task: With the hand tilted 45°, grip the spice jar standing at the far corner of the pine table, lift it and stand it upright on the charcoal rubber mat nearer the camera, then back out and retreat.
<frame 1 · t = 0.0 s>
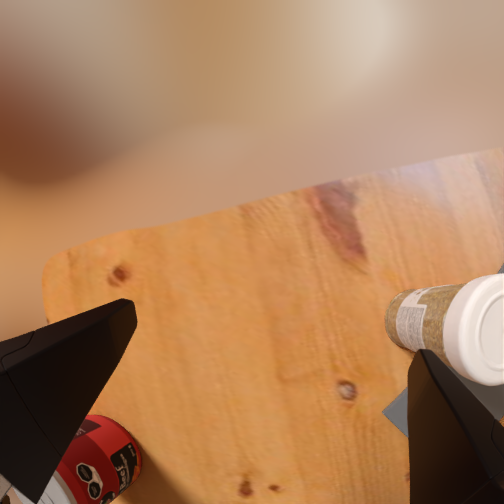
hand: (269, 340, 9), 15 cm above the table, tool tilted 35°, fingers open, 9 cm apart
canned food: (110, 448, 25), on the table
charcoal mat: (489, 365, 20), on the table
spice jar: (409, 318, 22), on the table
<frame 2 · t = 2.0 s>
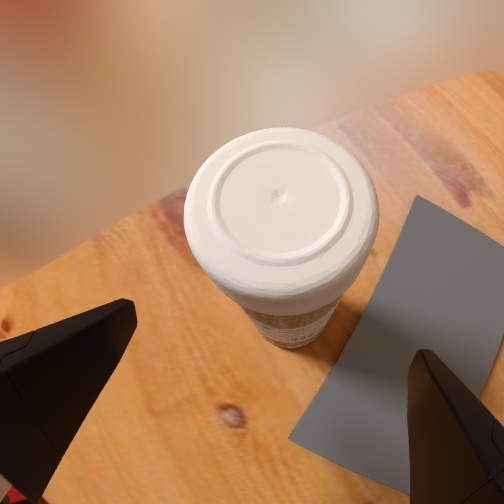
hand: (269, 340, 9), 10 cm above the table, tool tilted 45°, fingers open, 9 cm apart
charcoal mat: (430, 344, 17), on the table
spice jar: (290, 313, 19), on the table
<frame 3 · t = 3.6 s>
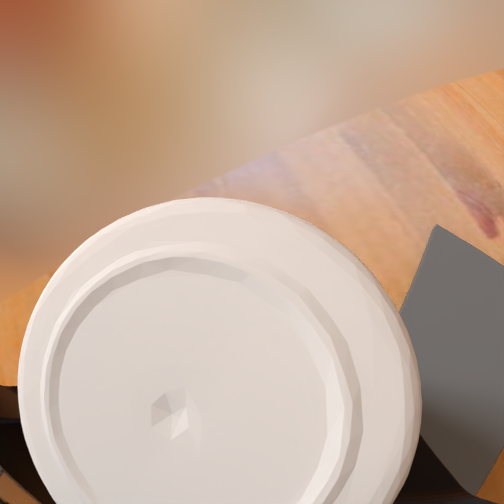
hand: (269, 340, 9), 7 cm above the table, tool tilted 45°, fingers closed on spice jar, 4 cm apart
charcoal mat: (442, 413, 13), on the table
spice jar: (274, 380, 15), on the table, touching gripper
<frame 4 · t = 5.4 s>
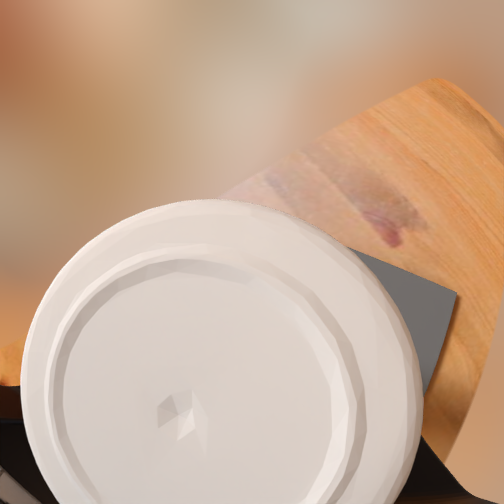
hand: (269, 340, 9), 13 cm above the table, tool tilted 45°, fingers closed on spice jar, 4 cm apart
charcoal mat: (356, 386, 20), on the table
spice jar: (271, 378, 15), point 6 cm above the table, touching gripper
when the fingers open (8 cm above the table, at t = 7.3 s): spice jar drops 1 cm, resting on charcoal mat.
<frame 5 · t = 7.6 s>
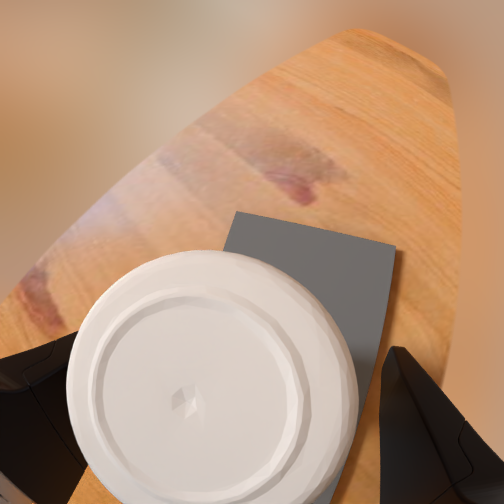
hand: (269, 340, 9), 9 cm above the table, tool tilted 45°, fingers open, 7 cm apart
charcoal mat: (276, 379, 17), on the table
spice jar: (272, 381, 16), resting on charcoal mat
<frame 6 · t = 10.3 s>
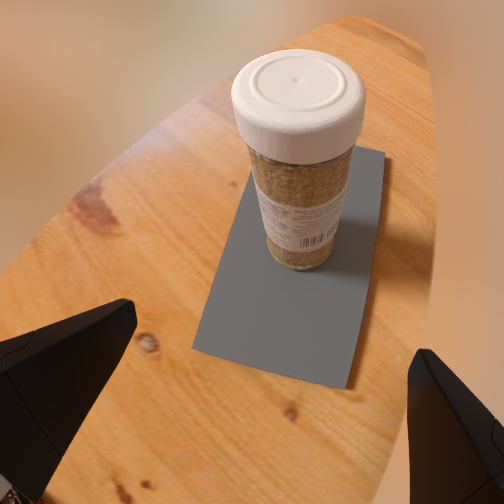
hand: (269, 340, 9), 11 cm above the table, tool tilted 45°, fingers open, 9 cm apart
canned food: (22, 498, 17), on the table
charcoal mat: (302, 242, 22), on the table
spice jar: (299, 241, 22), resting on charcoal mat
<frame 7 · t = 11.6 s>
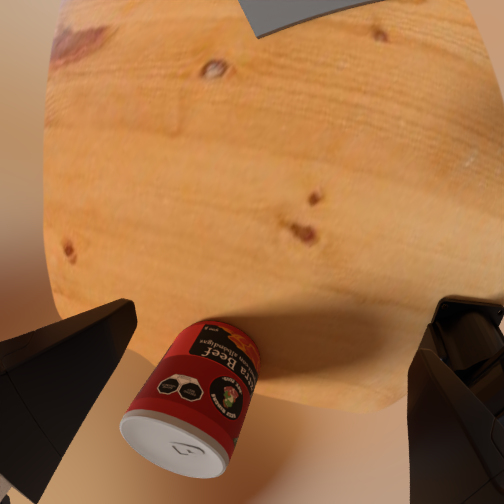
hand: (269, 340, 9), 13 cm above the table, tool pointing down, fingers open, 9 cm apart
canned food: (219, 351, 28), on the table
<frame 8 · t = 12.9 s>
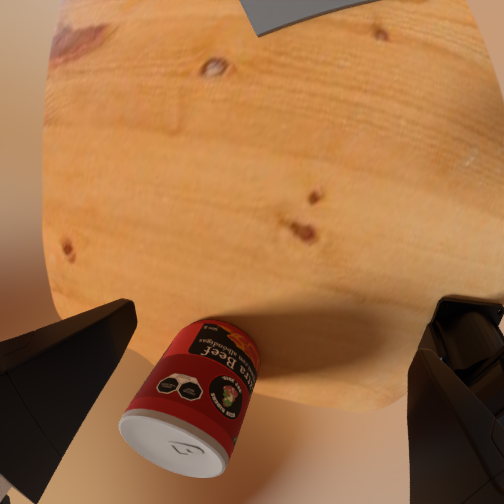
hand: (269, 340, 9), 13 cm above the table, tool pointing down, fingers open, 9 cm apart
canned food: (219, 350, 28), on the table
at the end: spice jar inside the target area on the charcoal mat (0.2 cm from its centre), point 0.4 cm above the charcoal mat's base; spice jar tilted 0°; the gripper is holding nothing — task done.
